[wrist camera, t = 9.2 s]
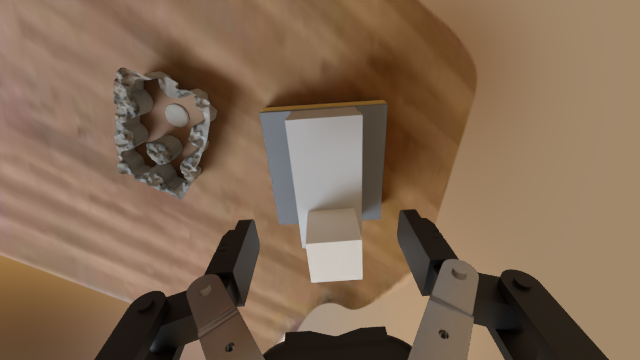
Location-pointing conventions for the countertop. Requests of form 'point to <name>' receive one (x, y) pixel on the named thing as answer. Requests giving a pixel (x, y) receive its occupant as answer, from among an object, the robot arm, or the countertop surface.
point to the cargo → (334, 245)
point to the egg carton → (167, 147)
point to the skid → (326, 161)
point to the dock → (371, 155)
